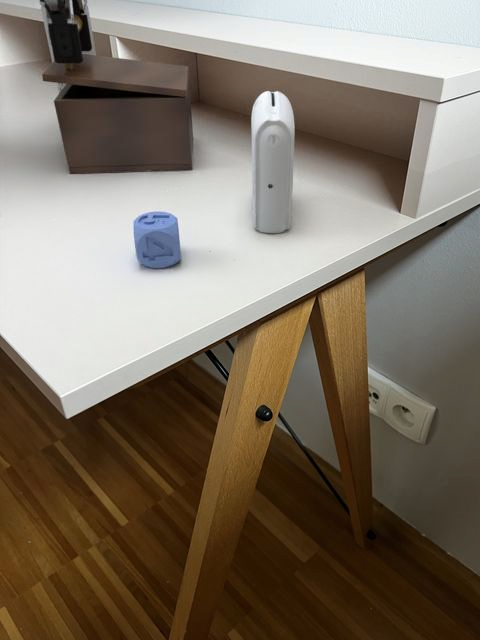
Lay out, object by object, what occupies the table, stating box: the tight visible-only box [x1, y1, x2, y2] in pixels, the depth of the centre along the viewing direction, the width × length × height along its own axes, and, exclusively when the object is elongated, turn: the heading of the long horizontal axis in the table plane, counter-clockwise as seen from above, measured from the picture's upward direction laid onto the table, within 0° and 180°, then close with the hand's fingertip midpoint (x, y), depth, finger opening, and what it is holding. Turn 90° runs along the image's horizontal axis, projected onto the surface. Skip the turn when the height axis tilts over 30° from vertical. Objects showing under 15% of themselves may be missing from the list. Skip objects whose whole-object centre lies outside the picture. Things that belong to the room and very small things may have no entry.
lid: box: [41, 14, 189, 97], centre depth 69 cm, size 16×13×6 cm
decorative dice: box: [132, 211, 182, 269], centre depth 53 cm, size 4×4×4 cm
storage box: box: [53, 73, 194, 175], centre depth 74 cm, size 16×13×9 cm
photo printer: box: [250, 90, 296, 234], centre depth 58 cm, size 10×4×12 cm, turn 0°
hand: (74, 55), depth 68 cm, fingers closed on lid, 6 cm apart
